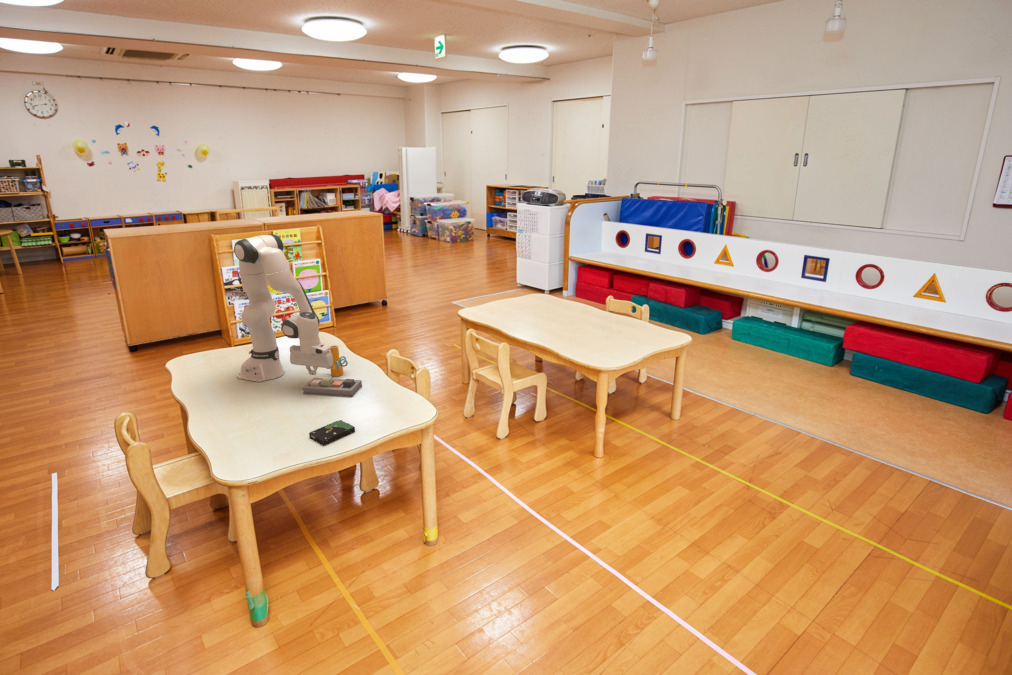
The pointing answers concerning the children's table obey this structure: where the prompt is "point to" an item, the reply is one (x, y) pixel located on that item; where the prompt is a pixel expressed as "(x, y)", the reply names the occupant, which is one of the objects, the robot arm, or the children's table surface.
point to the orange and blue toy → (337, 362)
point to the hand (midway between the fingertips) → (312, 374)
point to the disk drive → (331, 432)
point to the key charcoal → (348, 383)
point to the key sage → (326, 381)
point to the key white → (315, 382)
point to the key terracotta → (337, 384)
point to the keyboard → (332, 388)
